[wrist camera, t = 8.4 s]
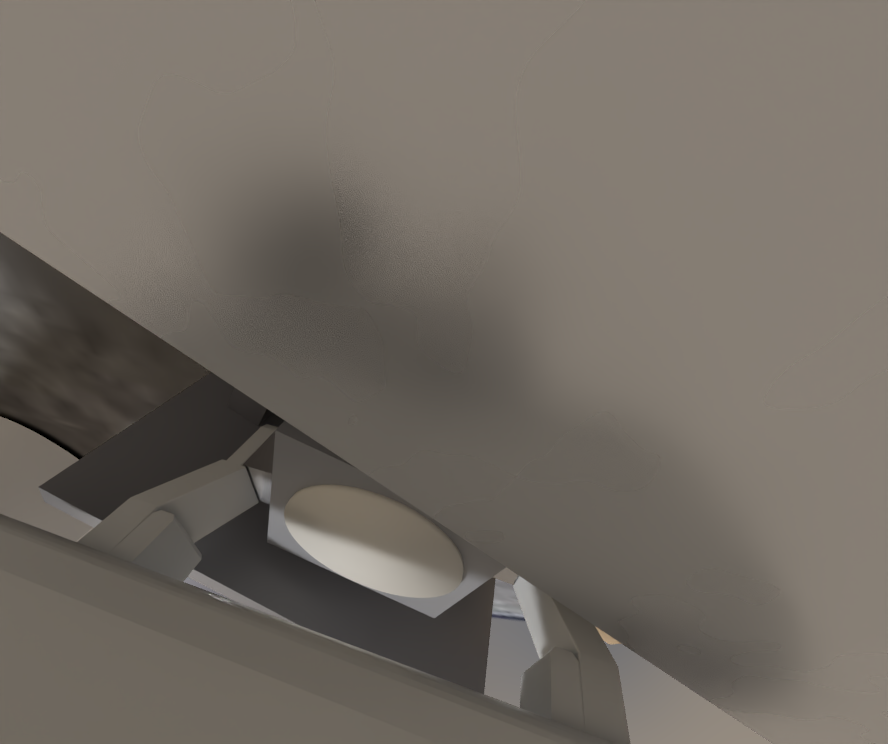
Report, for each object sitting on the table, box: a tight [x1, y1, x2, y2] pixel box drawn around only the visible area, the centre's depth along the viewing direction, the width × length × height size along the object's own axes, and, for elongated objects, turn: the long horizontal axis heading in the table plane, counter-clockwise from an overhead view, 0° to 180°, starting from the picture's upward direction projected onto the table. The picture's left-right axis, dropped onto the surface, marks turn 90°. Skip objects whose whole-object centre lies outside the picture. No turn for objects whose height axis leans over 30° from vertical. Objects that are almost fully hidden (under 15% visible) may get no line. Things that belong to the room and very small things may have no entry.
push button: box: [267, 421, 506, 618], centre depth 10 cm, size 6×6×3 cm
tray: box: [38, 372, 495, 694], centre depth 10 cm, size 15×16×8 cm
